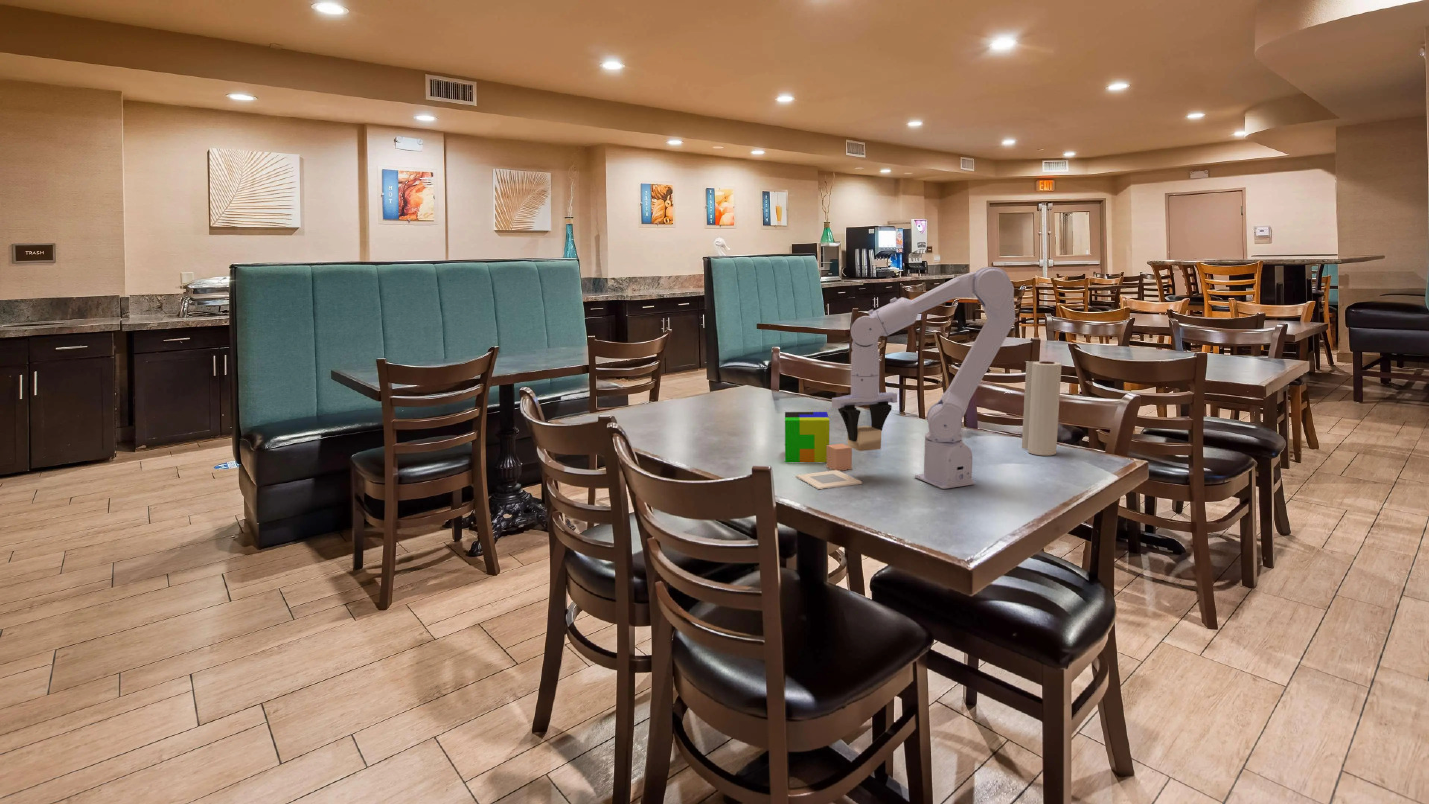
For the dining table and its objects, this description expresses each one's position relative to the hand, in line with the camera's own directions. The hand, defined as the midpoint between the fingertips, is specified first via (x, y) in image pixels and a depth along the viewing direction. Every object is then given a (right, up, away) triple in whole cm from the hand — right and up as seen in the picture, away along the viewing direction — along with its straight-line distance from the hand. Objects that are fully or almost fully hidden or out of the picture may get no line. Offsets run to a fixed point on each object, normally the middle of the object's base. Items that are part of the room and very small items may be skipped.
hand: (864, 439), depth 153 cm
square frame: (-8, -9, 0) cm, 12 cm away
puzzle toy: (-10, -6, +19) cm, 22 cm away
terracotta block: (-4, -7, +9) cm, 12 cm away
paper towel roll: (+45, -4, +18) cm, 49 cm away
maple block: (0, -2, 0) cm, 2 cm away
